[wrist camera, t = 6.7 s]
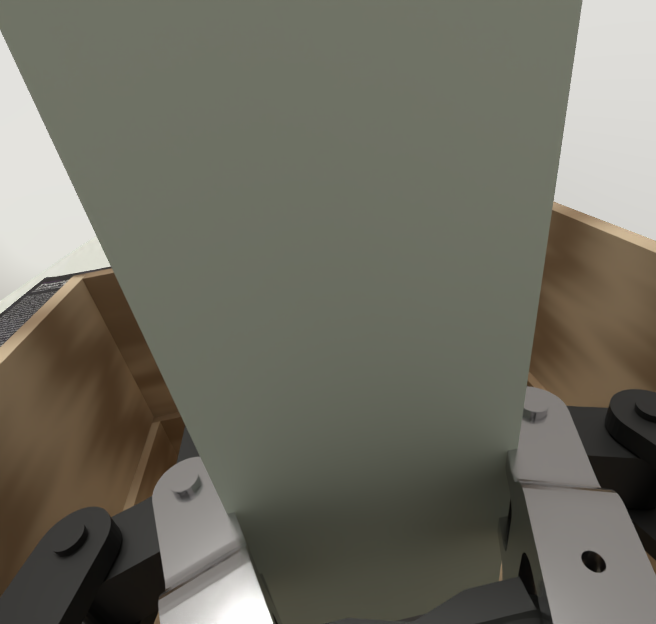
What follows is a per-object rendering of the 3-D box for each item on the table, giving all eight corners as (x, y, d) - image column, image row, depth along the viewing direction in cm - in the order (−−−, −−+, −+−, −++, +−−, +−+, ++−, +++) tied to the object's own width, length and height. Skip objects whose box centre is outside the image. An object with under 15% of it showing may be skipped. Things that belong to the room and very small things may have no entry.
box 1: (119, 386, 31) (173, 279, 48) (100, 352, 30) (163, 252, 46) (-58, 417, 31) (58, 298, 48) (-89, 384, 29) (43, 272, 46)
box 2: (482, 689, 12) (597, -107, 3) (327, 728, 12) (-19, -11, 3) (426, 534, 17) (407, 5, 8) (310, 560, 16) (147, 49, 7)
